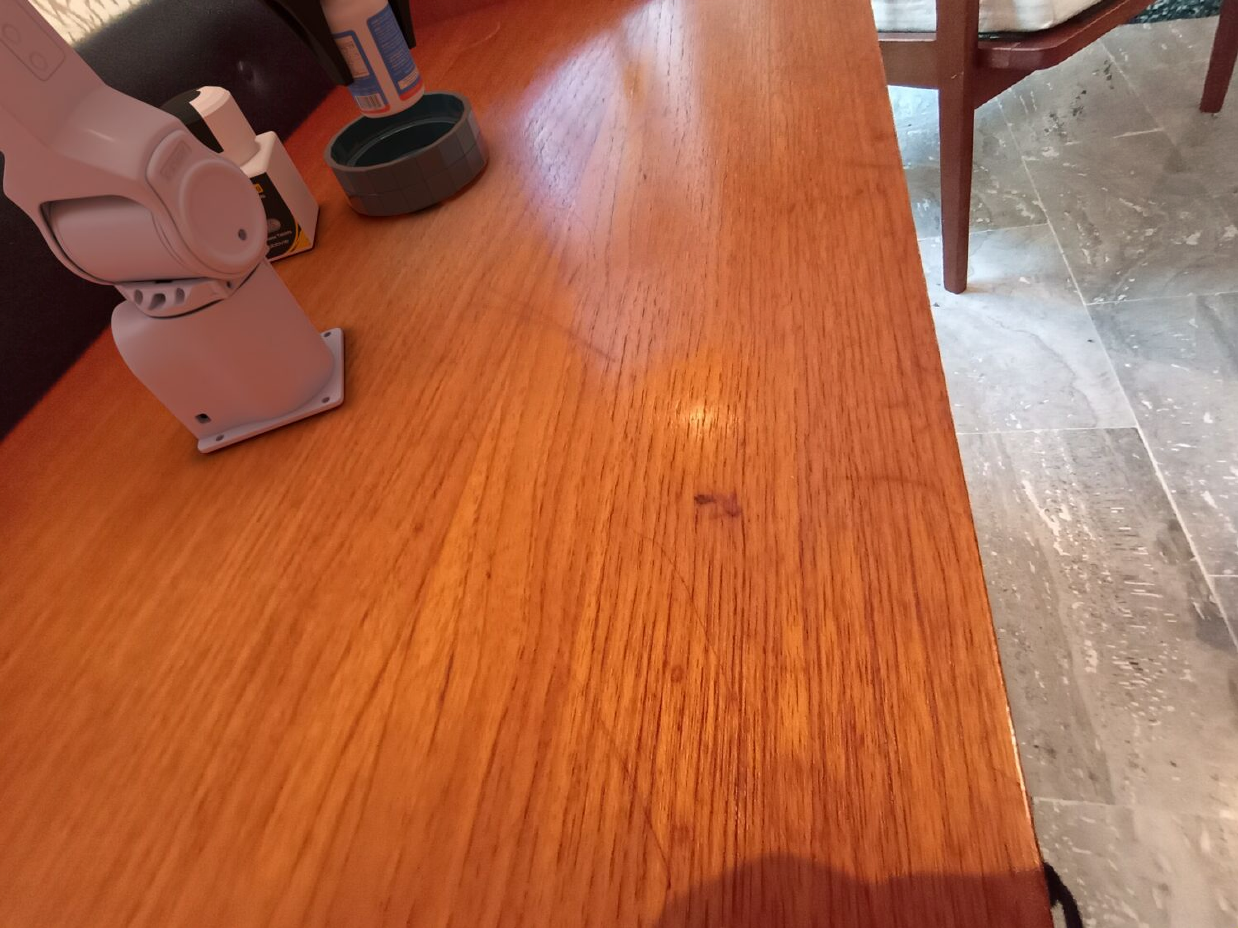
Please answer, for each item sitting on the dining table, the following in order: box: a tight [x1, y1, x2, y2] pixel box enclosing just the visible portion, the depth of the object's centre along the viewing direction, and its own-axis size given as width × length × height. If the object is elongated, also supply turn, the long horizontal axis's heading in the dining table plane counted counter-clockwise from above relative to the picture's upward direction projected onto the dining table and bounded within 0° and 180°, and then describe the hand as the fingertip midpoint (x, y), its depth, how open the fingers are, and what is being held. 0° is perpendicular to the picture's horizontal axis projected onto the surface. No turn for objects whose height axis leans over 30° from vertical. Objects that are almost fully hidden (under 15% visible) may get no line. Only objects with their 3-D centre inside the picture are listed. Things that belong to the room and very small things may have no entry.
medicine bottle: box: [158, 85, 320, 263], centre depth 58 cm, size 7×7×12 cm
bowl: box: [323, 89, 490, 217], centre depth 62 cm, size 13×13×4 cm
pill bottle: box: [320, 0, 426, 118], centre depth 54 cm, size 6×5×10 cm
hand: (375, 64), depth 55 cm, fingers closed on pill bottle, 5 cm apart
